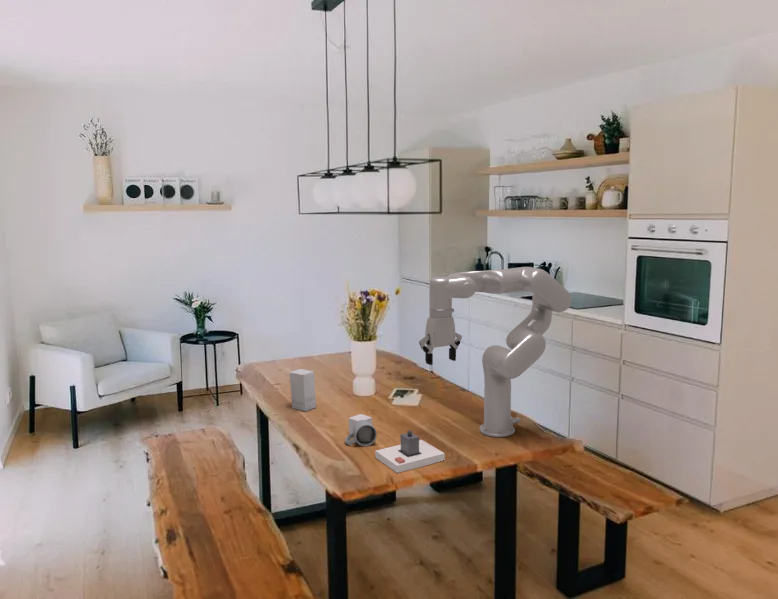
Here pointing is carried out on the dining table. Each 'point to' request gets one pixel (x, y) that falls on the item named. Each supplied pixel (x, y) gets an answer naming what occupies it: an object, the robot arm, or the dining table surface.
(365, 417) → the light grey cube
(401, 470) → the socket plate
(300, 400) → the skincare box
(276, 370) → the dining table surface
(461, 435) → the dining table surface
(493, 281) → the robot arm
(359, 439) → the ceramic mug
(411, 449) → the plug
